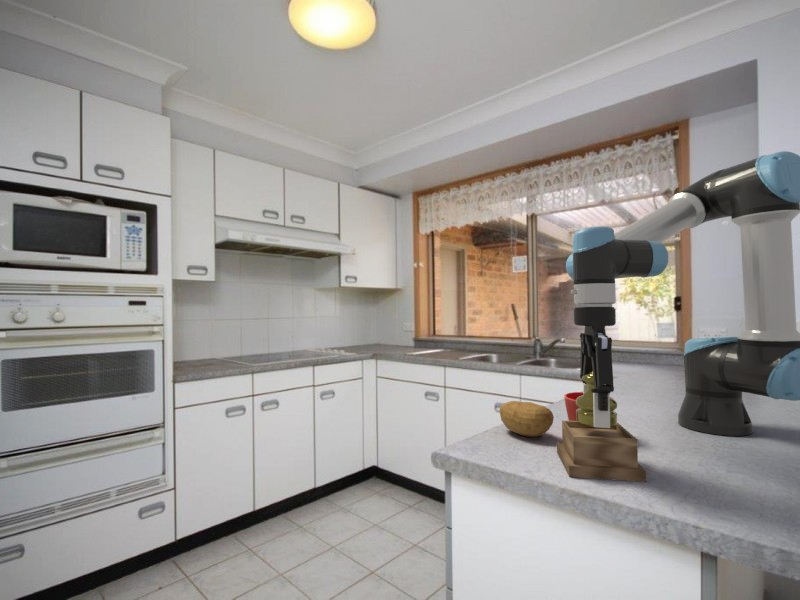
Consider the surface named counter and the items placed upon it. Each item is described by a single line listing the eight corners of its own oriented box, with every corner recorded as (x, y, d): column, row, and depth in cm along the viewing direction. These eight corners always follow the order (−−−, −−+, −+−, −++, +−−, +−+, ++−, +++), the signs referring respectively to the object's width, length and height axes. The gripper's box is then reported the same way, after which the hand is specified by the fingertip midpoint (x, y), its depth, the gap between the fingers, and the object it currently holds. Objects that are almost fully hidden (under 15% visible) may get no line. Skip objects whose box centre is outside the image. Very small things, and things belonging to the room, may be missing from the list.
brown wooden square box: (622, 455, 86) (621, 421, 86) (646, 481, 74) (645, 441, 74) (556, 452, 89) (556, 418, 89) (569, 476, 76) (568, 437, 76)
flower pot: (621, 445, 93) (620, 402, 93) (569, 442, 95) (568, 400, 95) (607, 431, 103) (606, 392, 103) (561, 429, 105) (560, 391, 106)
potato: (514, 425, 110) (514, 395, 110) (562, 438, 98) (561, 404, 99) (489, 431, 104) (489, 400, 104) (537, 446, 93) (536, 411, 93)
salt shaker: (625, 424, 80) (624, 372, 80) (603, 430, 76) (602, 376, 76) (590, 415, 86) (589, 368, 87) (568, 421, 82) (567, 371, 83)
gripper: (564, 306, 92) (565, 408, 92) (586, 305, 73) (588, 435, 72) (600, 305, 91) (601, 409, 90) (633, 305, 71) (635, 438, 71)
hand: (596, 421), depth 81 cm, fingers closed on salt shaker, 7 cm apart
